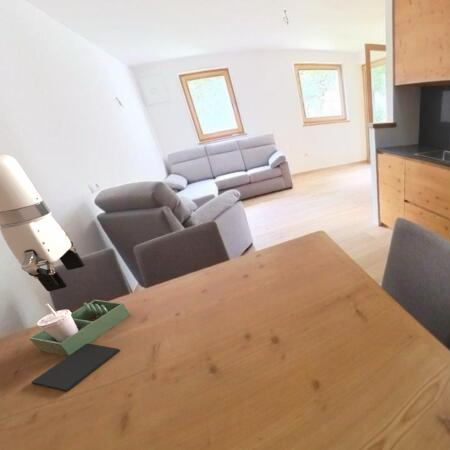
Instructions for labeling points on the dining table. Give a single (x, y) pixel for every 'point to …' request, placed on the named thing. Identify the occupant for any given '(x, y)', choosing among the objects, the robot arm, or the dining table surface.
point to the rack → (84, 327)
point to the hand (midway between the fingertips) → (67, 277)
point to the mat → (75, 367)
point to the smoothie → (58, 324)
